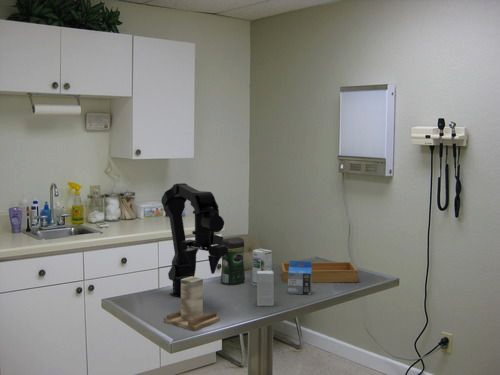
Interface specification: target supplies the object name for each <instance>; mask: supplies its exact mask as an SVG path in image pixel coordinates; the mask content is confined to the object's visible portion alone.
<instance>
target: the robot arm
mask: <svg viewBox="0 0 500 375" xmlns="http://www.w3.org/2000/svg"><path fill="white" fill-rule="evenodd" d="M215 198H216V197H215V196H214V194H213V192H211V191H206V190H205V191H203V190H201V191H200V190H199V189H198V190H197V189H196V188H194V187H192V186H190V185H188V183H185V182H182V183H180V182H179V183H174V184H173V185H172V187H171V188H169V189H167V190H166V191H165V192H164V193H163V195H162V196H161V204H162V207H163V212H165V213H166V215H167V216H168V217H169V222H170V224H169V225H170V230H171V236H172V244H173V250H174V255H173V258H172V259H171V267H170V269H169V271H168V274H167V275H168V279H169V280H170V281H172V292H170V293H169V295H170V296H173V297H176V298H181V279H184V278H188V277H191V276H192V277H195V276H196V274H195V273H196V268H197V254H198V251H199V250H200V251H205V252H208V254H209V255H208V256H207V258H208V262H209V268H210V273H211V274H212V275H213V274H215V273H216V270H217V266H218V264H219V261H221V258H222V256H225V254H228V248H227V246H225V245H222V241H223V239H224V236H220V235H217V234H215V233H219V232H222V230H223V229H224V226H225V221H224V218H223V217H222V216H221V215H220V212H219V211H220V210H219V205H218V203H217V201H216V199H215ZM187 201H188V202H190V206H191V207H192V208H193V211H192V214H193V215H194V230H192V232H191V233H192V234H193V235H194V239H186V233H185V226H184V221H183V213H184V210H185V207H186V204H185V203H186V202H187Z"/></svg>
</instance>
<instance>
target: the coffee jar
mask: <svg viewBox="0 0 500 375" xmlns="http://www.w3.org/2000/svg"><path fill="white" fill-rule="evenodd" d="M222 245H225V246H227V248H228V254H225V256H222V257H221V258H222V259H221V273H220V282H221V283H222V284H224V285H230V286H232V285H238V284H242V283H244V282H245V280H246V275H245V264H244V251H245V240H244V238H241V237H239V236H237V237H229V238H223V241H222Z"/></svg>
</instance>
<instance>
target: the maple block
mask: <svg viewBox="0 0 500 375" xmlns="http://www.w3.org/2000/svg"><path fill="white" fill-rule="evenodd" d="M203 283H204V279H203V278H201V277H196V276H194V277H192V276H191V277H188V278H184V279H181V297H180V311H181V318H182V319H185V320H189V321H191V320H194V319H196V318H199V317H202V316H203V313H204V312H203V310H204V309H203V308H204V307H203V304H204V303H203V300H204V299H203V298H204V297H203V296H204V295H203V294H204V292H203V287H204V286H203Z"/></svg>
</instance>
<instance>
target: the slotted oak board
mask: <svg viewBox="0 0 500 375" xmlns="http://www.w3.org/2000/svg"><path fill="white" fill-rule="evenodd" d="M163 322H164V323H166V324H170V325H173V326H176V327H180V328H183V329H187V330H189V331H190V330H191V331H194V332H196V331H199V330H202V329H203V328H206V327H209V326H211V325H214V324H217V323H219V322H221V318H220V317H219V316H217V312H214V311H213V312H210V313H204V312H203V316H202V317H199V318H196V319H194V320H191V321H189V320H185V319H182V318H181V310H179V311H175V312H173V313H170V314H168V315H166V317H164V318H163Z"/></svg>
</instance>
